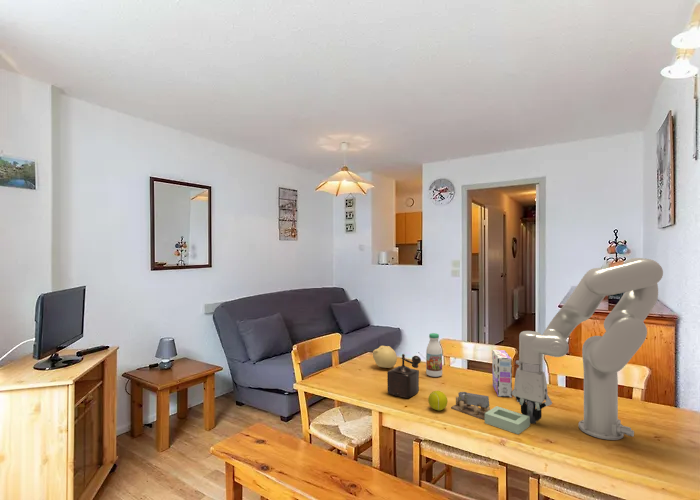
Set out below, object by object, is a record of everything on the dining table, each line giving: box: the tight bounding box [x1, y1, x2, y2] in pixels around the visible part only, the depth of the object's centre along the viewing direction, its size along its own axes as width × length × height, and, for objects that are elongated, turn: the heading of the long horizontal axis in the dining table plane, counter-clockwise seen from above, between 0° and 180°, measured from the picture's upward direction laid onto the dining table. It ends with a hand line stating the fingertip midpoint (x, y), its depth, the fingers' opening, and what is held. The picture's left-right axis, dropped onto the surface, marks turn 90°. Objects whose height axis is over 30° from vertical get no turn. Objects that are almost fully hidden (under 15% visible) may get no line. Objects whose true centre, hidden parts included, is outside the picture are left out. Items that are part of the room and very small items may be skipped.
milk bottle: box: [425, 332, 443, 378], centre depth 187 cm, size 8×8×20 cm
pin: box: [526, 399, 537, 425], centre depth 135 cm, size 3×3×10 cm
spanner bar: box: [457, 391, 490, 408], centre depth 144 cm, size 12×3×4 cm, turn 42°
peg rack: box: [450, 396, 491, 421], centre depth 144 cm, size 14×7×4 cm, turn 42°
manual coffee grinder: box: [386, 353, 422, 399], centre depth 162 cm, size 16×11×18 cm
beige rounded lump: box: [372, 345, 398, 369], centre depth 200 cm, size 11×12×11 cm
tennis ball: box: [427, 390, 448, 411], centre depth 146 cm, size 7×7×7 cm
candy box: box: [491, 349, 513, 398], centre depth 165 cm, size 14×6×16 cm, turn 168°
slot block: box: [484, 405, 531, 435], centre depth 133 cm, size 12×9×4 cm
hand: (531, 417), depth 135 cm, fingers open, 3 cm apart
